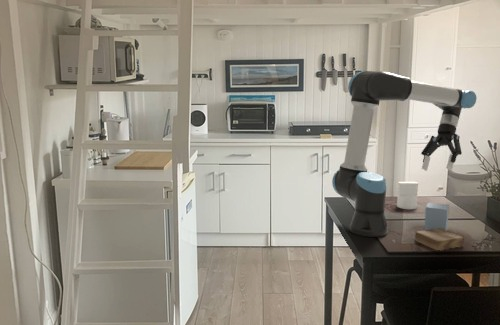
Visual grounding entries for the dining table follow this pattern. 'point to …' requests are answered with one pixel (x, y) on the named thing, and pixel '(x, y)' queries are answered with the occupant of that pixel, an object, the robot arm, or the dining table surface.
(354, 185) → the robot arm
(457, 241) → the walnut block
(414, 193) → the white cylinder
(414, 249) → the dining table surface
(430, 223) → the slate block
